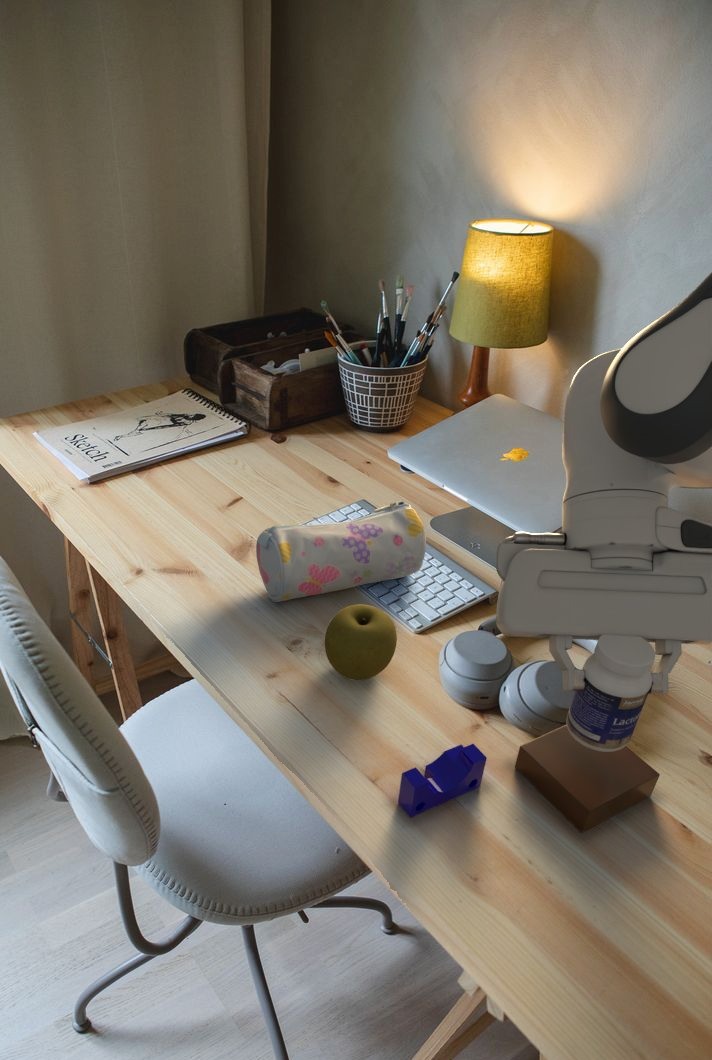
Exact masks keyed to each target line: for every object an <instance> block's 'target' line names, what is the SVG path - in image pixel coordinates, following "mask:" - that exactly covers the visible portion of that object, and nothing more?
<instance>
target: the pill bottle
mask: <svg viewBox="0 0 712 1060" xmlns="http://www.w3.org/2000/svg"><path fill="white" fill-rule="evenodd" d="M655 660H656V654H655V647H654V646H653V645H652V644H651V642H647V641H646V640H645V639H643V638H642V637H637V636H620V635H606V634H603V635H601V636H600V638H599V639H598V640H597V642H596V645H595V647H594V653H593V652H592V654H590V655H589V656H588V657H587V659H586V660H585V662H584V664H583V666H582V668H581V670H585V678H584V682H585V689H584V691H574V694H573V697H572V700H571V703H570V705H569V709H568V712H567V715H566V719H565V720H566V721H565V723H566V724H565V725H567V728H568V731H569V732H570V734H571V735H572V737H573V738H574V739H575V740H577V741H578V742H579V743H580V744H582V745H584V746H586V747H588V748H590V749H593V750H597V751H602V752H612V751H617V750H620V749H622V748H624V747H625V746H627V745H628V744H629V743H630V741H631V739H632V737H633V734H634V731H635V728H636V726H637V724H638V721H639V718H640V716H641V714H642V711H643V708H644V706H645V703H646V700H647V697H648V695H649V694H648V693H649V691H650V688H651V684H652V675H651V673H652V672H651V670H652V668H653V665H654V663H655Z"/></svg>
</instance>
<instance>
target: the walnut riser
mask: <svg viewBox="0 0 712 1060" xmlns="http://www.w3.org/2000/svg"><path fill="white" fill-rule="evenodd" d="M514 768H515V770H517V771H518V772H519V773H520V774H521V775H522V776H523V777H524V778H525V779H526V780H527V781H528V782H529V783H530V784H531V785H532V786H533V787H534V788H535V789H536V791H538V792H539V793H540V794H542V796H543V797H544V798H545V799H546V800H547V801H548V802H549V803H550V804H552V805H553V806H554V807H555V809H556V810H558V812H560V813H561V814H562V815H563V816H564V817H565V818H566V819H567V820H568V821H569V822H570V823H571V824H572V825H573V827H575V828H576V829H577V830H578V831H579V832H580V833H584V832H586V831H588V830H591V829H592V828H594V827H595V826H597V825H599V824H601V823H603V822H605V821H607V820H608V819H610V818H612V817H615V816H616V815H618V814H620V813H621V812H624V811H626V810H627V809H629V808H631V807H633V806H635V805H636V804H638V803H640V802H642V801H644V800H646V799H648V798H650V797H651V796H652V795H653V792H654V790H655V787H656V785H657V782H658V780H659V778H660V775H661V774H660V773H659V772H658V771H657V770H655V768H654V767H652V766H651V765H650V764H649V763H647V762H646V761H645V760H643V759H642V758H641V757H640V756H639V755H638V754H637V753H635V752H634V751H633V750H632V749H631V748H630V747H628V746H627V745H626V746H625V747H624V748H622V749H620V750H617V751H612V752H602V751H597V750H593V749H590V748H588V747H586V746H584V745H582V744H580V743H579V742H578V741H577V740H575V739H574V738H573V737H572V735H571V734H570V732H569V731H568V728H567V724H565V725H563V726H561V727H558V728H556V729H554V730H552V731H550V732H548V733H545V734H543V735H540V736H539V737H537V738H534V739H532V740H530V741H528V742H525V743H523V744H521V745H520V746H519V749H518V752H517V757H516V760H515V764H514Z"/></svg>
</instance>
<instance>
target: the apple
mask: <svg viewBox="0 0 712 1060" xmlns="http://www.w3.org/2000/svg"><path fill="white" fill-rule="evenodd" d="M323 641H324V642H323V643H324V651H325V655H326V658H327V660H328V663H329V664H330V666H331V667H332V668H333V670H334V671H335V672H336V673H337V674H339V675H340V676H342V677H343V678H344V679H348V680H351V681H365V680H369V679H371V678H373V677H375V676H377V675H379V674H381V672H383V671H384V670H385V669H386V668H387V667H388V666H389V664H390V663H391V661H392V659H393V658H394V655H395V652H396V648H397V643H398V642H397V641H398V632H397V627H396V625H395V622H394V621H393V619H392V617H391V616H390V615H389V614H387V613H386V612H385V611H384V610H381V609H380V608H378V607H375V606H372V605H368V604H361V603H358V604H352V605H348V606H346V607H344V608H341V609H340V610H339V611H338V612H337V613H335V614H334V616H333V617H332V618H331V619H330V621H329V622H328V625H327V626H326V630H325V633H324V640H323Z"/></svg>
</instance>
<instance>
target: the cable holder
mask: <svg viewBox="0 0 712 1060" xmlns="http://www.w3.org/2000/svg"><path fill="white" fill-rule="evenodd" d="M487 759H488V757H487V756H486V755H485V754H484V753H483V752H482V751H481V750H480V749H479V747H478V746H477V745H475V743H471V744H468V745H466V746H464V745H463V744H459V745H456V746H453V747H451V748H448V749H446V750H444V751H443V752H442V753H441V754H440V756H438V757H437V758H436V759H435V760H433V761H432V762H431V763H428V764H427V765H425V769H424V775H423V774H422V773H421V772H420V770H419V769H418V768H417V767H413V768H410V769H408V770H406V771H403V772H402V773H401V778H400V786H399V792H398V798H397V799H398V800H397V803H398V805H399V806H400V807H401V808H402V810H403V811H404V812H405V813H406V815H407V816H408V817H409V818H413V817H415V816H417V815H420V814H422V813H424V812H427V811H429V810H431V809H433V808H436V807H438V806H440V805H443V804H445V803H447V802H449V801H451V800H453V799H456V798H458V797H460V796H462V795H463V796H464V795H465V794H467V793H470V792H471V791H474V790H476V789H478V788H481V784H482V780H483V776H484V771H485V767H486V764H487V763H486V762H487Z"/></svg>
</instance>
